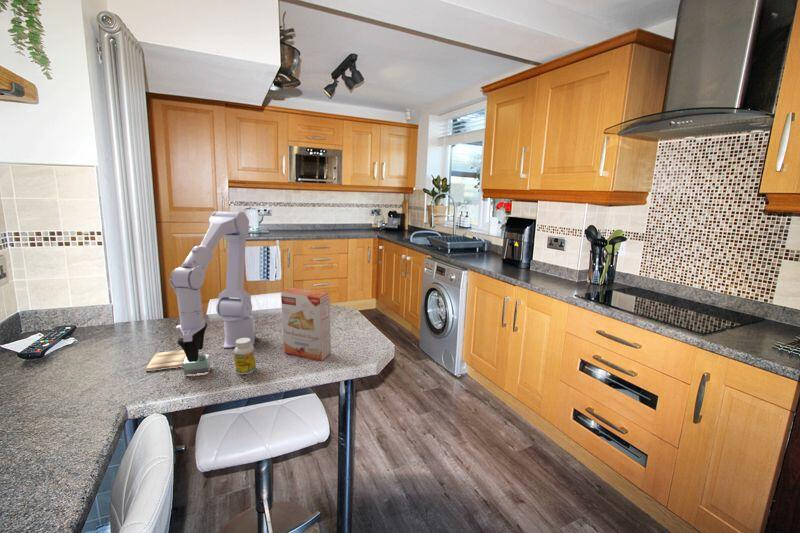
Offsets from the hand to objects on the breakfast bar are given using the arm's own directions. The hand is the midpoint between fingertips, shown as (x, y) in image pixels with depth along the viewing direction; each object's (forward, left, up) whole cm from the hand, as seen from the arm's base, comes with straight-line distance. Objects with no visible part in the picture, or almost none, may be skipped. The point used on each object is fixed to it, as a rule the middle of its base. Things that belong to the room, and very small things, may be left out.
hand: (195, 355), depth 108 cm
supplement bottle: (-13, +3, -6) cm, 14 cm away
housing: (0, 0, -6) cm, 6 cm away
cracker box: (-31, -3, -6) cm, 32 cm away
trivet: (+9, -9, -5) cm, 14 cm away
